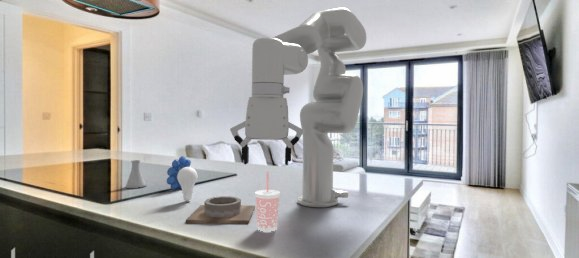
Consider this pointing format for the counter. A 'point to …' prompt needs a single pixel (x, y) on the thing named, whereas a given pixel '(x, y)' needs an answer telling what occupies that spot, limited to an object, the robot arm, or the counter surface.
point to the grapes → (176, 171)
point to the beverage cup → (267, 208)
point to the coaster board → (222, 211)
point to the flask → (135, 176)
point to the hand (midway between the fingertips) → (266, 163)
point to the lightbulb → (187, 181)
